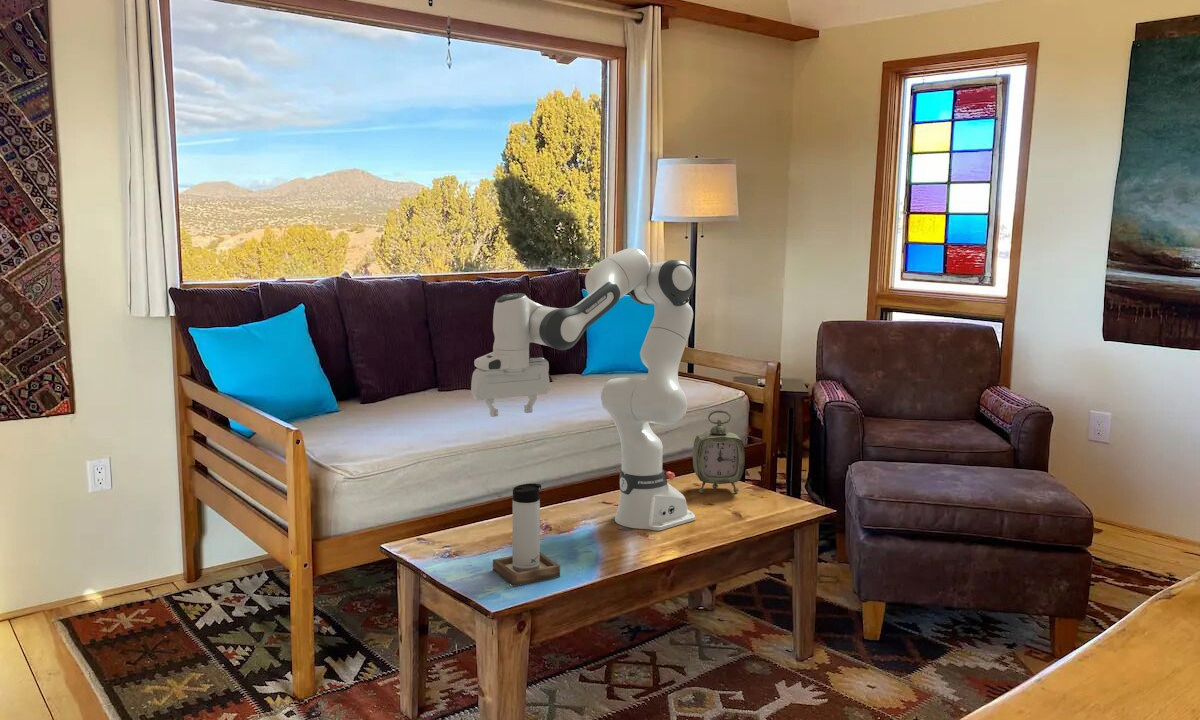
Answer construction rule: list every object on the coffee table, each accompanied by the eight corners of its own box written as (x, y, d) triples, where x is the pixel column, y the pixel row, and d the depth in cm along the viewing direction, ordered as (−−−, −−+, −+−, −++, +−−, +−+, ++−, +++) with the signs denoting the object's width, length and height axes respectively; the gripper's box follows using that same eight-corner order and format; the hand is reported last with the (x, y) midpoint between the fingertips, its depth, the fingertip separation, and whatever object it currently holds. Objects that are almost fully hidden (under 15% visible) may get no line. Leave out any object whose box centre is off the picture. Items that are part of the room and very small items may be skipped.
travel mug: (540, 573, 213) (541, 489, 210) (511, 573, 213) (511, 489, 210) (541, 563, 219) (541, 481, 216) (513, 563, 219) (513, 481, 216)
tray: (538, 561, 224) (538, 550, 223) (560, 576, 214) (560, 566, 214) (492, 570, 218) (492, 559, 217) (512, 586, 208) (512, 575, 208)
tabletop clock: (695, 495, 278) (698, 413, 274) (690, 486, 287) (692, 407, 283) (743, 494, 280) (746, 413, 276) (736, 486, 288) (739, 407, 285)
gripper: (542, 355, 238) (542, 408, 240) (468, 360, 227) (468, 415, 229) (554, 358, 232) (554, 412, 234) (478, 364, 222) (478, 420, 224)
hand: (511, 414), depth 232 cm, fingers open, 8 cm apart
